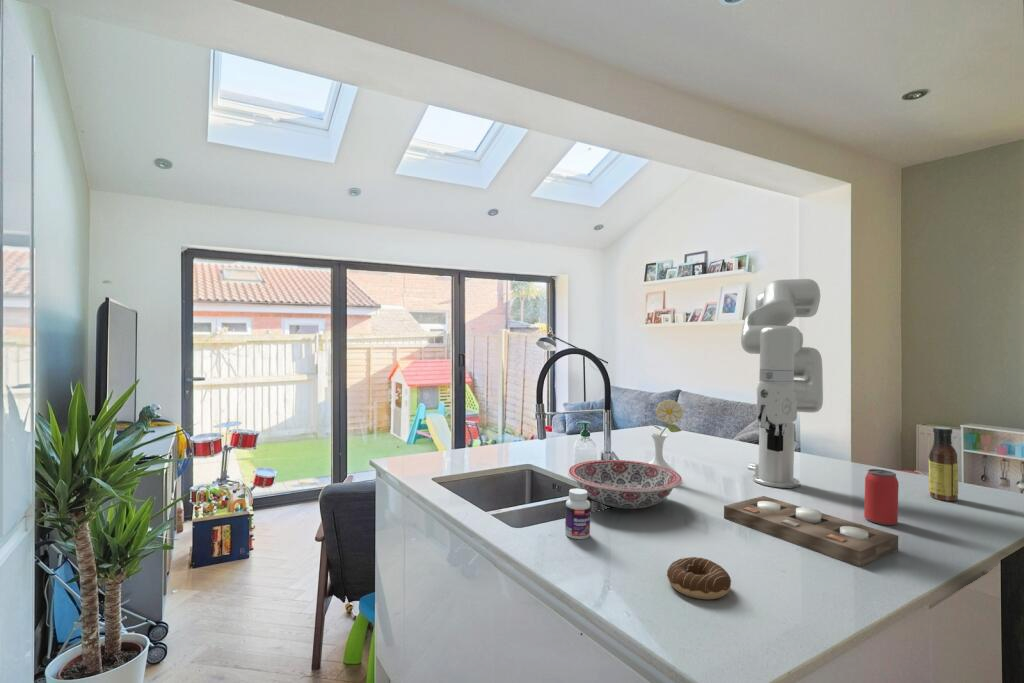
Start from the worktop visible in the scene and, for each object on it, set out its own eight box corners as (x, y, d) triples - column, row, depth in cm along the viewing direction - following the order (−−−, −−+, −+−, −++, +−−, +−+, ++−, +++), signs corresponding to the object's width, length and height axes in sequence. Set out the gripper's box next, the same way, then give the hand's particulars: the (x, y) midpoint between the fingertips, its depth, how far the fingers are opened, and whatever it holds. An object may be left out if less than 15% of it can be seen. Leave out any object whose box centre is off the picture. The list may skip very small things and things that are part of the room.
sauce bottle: (946, 495, 144) (948, 425, 144) (964, 502, 138) (965, 430, 138) (922, 494, 145) (923, 425, 144) (938, 501, 138) (939, 429, 138)
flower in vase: (633, 480, 155) (635, 398, 155) (646, 472, 165) (648, 395, 164) (676, 487, 148) (678, 402, 147) (687, 479, 157) (689, 398, 157)
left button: (752, 511, 124) (753, 503, 124) (765, 507, 127) (765, 499, 127) (772, 517, 120) (772, 509, 120) (784, 513, 123) (784, 505, 123)
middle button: (791, 518, 116) (791, 509, 116) (803, 514, 119) (803, 506, 119) (813, 525, 112) (813, 516, 112) (825, 521, 115) (825, 512, 115)
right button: (834, 538, 108) (835, 528, 108) (847, 533, 111) (847, 524, 111) (860, 546, 104) (861, 536, 104) (872, 541, 106) (873, 532, 106)
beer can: (893, 519, 124) (894, 470, 124) (901, 528, 118) (902, 477, 118) (861, 514, 127) (862, 467, 127) (867, 523, 121) (868, 473, 121)
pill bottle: (574, 541, 108) (575, 496, 108) (560, 532, 113) (561, 489, 113) (594, 537, 110) (595, 492, 110) (580, 528, 115) (581, 486, 115)
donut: (743, 603, 84) (743, 579, 84) (681, 605, 83) (682, 581, 83) (713, 573, 94) (713, 552, 94) (657, 574, 94) (658, 553, 94)
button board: (723, 517, 123) (724, 504, 123) (763, 507, 132) (763, 494, 132) (859, 566, 98) (860, 549, 98) (898, 550, 106) (898, 534, 106)
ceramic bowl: (597, 481, 154) (597, 454, 154) (695, 500, 137) (696, 470, 137) (547, 506, 130) (547, 475, 130) (658, 533, 113) (659, 498, 113)
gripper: (772, 379, 118) (771, 457, 119) (808, 376, 126) (807, 449, 126) (743, 376, 124) (742, 450, 125) (779, 373, 132) (778, 443, 133)
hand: (774, 450), depth 126 cm, fingers closed
